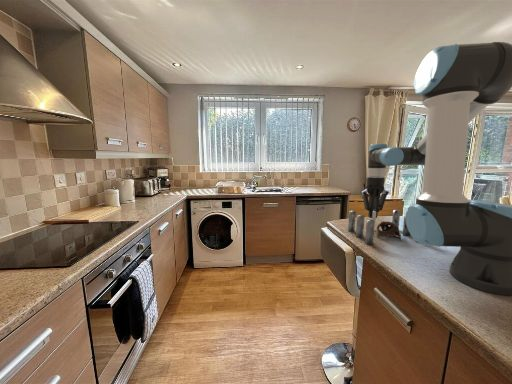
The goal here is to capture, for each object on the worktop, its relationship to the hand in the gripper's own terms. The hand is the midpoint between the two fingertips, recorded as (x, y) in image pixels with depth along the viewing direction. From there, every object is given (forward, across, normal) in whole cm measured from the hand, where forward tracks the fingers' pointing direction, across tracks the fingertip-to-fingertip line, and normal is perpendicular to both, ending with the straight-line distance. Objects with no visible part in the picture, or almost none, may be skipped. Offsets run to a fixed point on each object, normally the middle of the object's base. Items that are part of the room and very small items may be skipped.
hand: (372, 224), depth 109 cm
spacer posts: (+3, 0, +9) cm, 10 cm away
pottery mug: (+3, -1, +10) cm, 11 cm away
